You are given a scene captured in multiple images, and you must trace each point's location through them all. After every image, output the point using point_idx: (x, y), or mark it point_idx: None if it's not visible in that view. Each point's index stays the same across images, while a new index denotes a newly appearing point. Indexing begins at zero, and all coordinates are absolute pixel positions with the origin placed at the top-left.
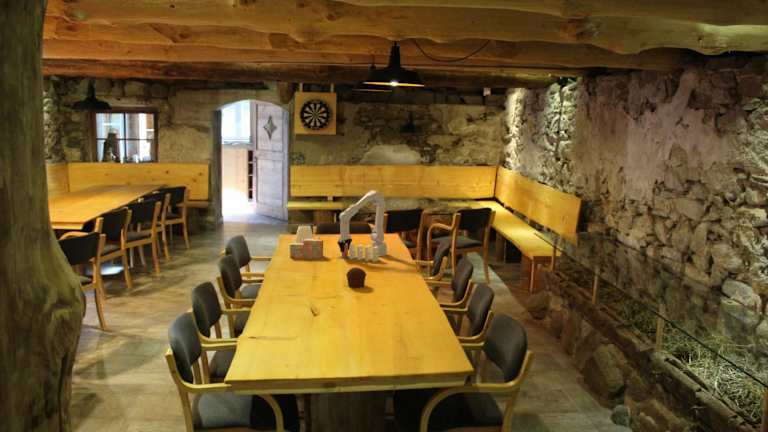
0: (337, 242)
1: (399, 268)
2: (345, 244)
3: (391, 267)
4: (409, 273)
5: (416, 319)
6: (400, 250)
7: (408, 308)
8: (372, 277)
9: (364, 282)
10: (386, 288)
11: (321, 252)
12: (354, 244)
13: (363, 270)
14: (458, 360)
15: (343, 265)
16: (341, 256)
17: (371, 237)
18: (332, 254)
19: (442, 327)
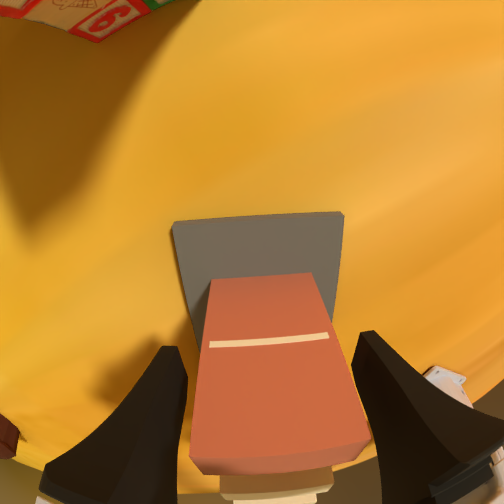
0: (42, 475)
1: (210, 484)
2: (261, 472)
3: (205, 477)
4: (177, 490)
5: (25, 459)
6: (494, 384)
7: (33, 460)
8: (67, 448)
9: (18, 437)
10: (50, 457)
11: (47, 24)
12: (313, 492)
13: (7, 458)
14: (16, 460)
15: (62, 363)
16: (297, 229)
17: (496, 453)
18: (393, 42)
19: (36, 468)
